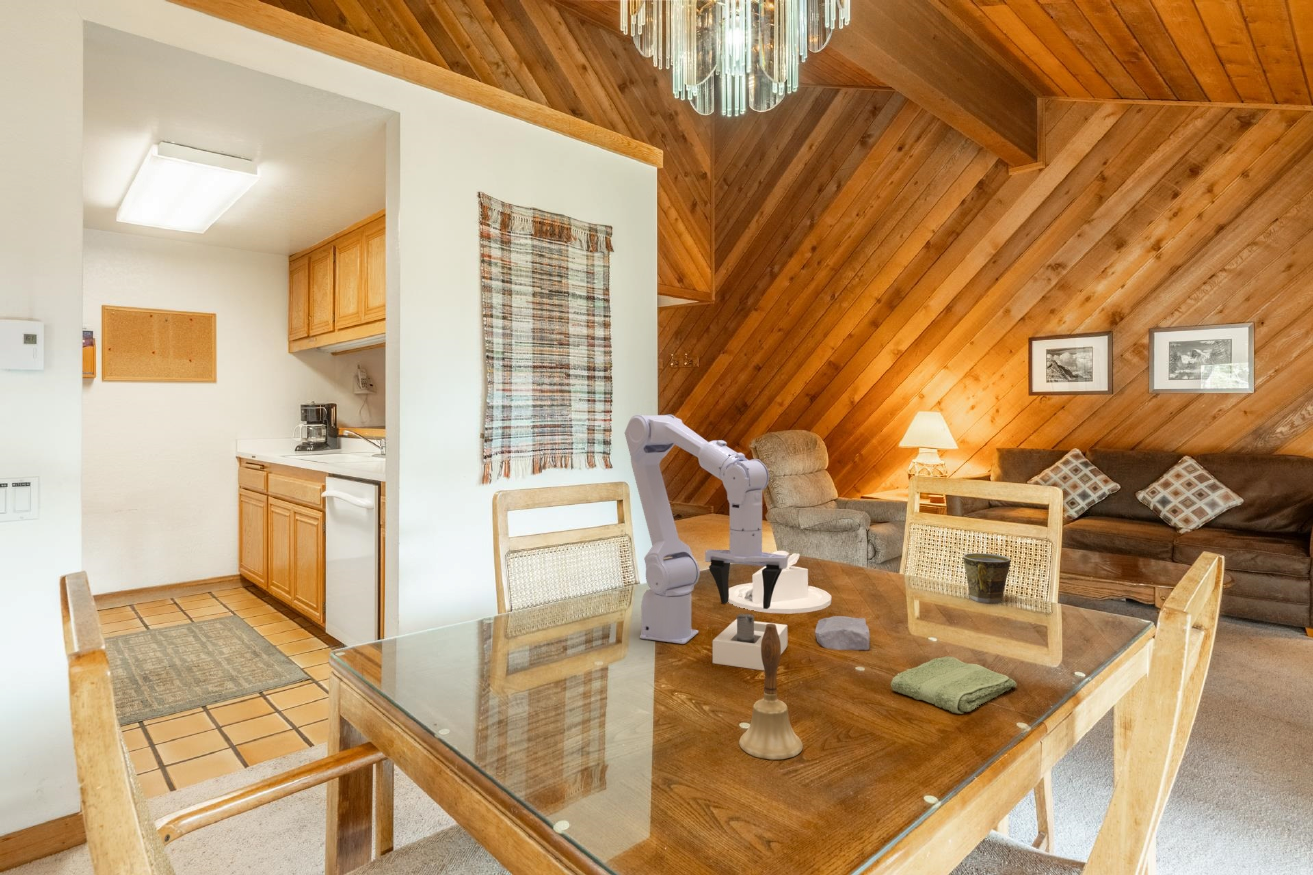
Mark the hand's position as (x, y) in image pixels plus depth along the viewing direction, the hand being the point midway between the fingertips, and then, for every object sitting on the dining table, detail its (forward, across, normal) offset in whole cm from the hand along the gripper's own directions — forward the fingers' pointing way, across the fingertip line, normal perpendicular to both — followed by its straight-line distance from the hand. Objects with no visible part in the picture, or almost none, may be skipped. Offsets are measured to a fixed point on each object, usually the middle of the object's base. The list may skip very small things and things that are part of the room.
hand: (745, 605), depth 124 cm
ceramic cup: (+10, +40, +60) cm, 72 cm away
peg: (+10, 0, 0) cm, 10 cm away
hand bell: (+10, +12, -30) cm, 33 cm away
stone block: (+10, +14, +18) cm, 25 cm away
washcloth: (+10, +34, 0) cm, 35 cm away
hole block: (+10, 0, +4) cm, 11 cm away
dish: (+10, -5, +44) cm, 45 cm away
